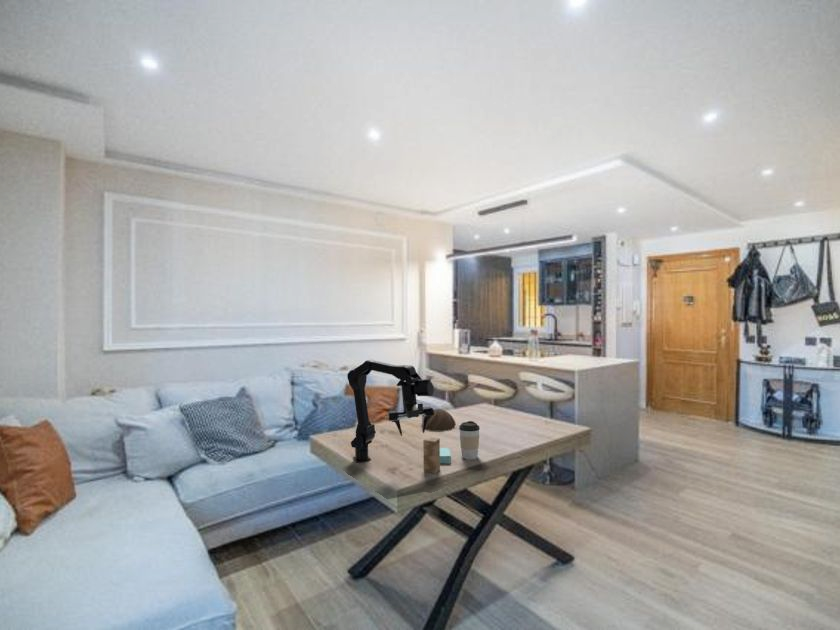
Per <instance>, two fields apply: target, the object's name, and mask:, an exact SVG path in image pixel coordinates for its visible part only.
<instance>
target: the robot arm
mask: <svg viewBox="0 0 840 630" xmlns="http://www.w3.org/2000/svg"><path fill="white" fill-rule="evenodd" d="M372 371H374V372H379V373H381V374H387V375H391V376H393V377H395V378H396V379H398V380H399V381H398V382H397V383H396V387H401V397H402V407H403V409H402V410H403V411H399V412H398V411H397V410H389V411H388V412H387V419H388V421H390V422H392V423H395V425H396V427H397V429H398V430H397V431H398V432H399V435H400V436H401V437H403V433H402V428H401V427H402V426H401V422H400V419H399V418H401V417H407V418H408V419H412V418H418V417H419V416H420V415H421V420H422V421H421V425H422V427H421V428H422V429H421V432H422V434H424V433H425V431H426V429H425V427H426V423H427V420H428V419H429V418H430V417H431V415H434V410H435V409H434V408H433V407H431V406H424V405H423V403H417V397H432V396H433V395H434V391H435V389H434V385H433V383H432V381H431V378H427V379H422V378H421V376H420V375H419V374H418V372H417V370H416V368H415V366H414V365H411V364H410V365H409V364H408V365H407V364H403V365H395V364H391V363H387V362H383V361H377V360H374V359H369V360H365V361H364V362H363V363H361V364H359V366H357V367H355V368H354V369H351V370H349V371H348V373H347V380H348V384H349V386H350V387H351V389H352V391H353V398H354V404H355V413H356V419H357V424H356V428H355V437H354V438H353V439H352V440H351V441H350V446H351V448H354V454H355V455H354V456H352V459H353V460H354V461H355V462H356V463H361V462H367V461H368V462H369V461H371V460H372V459H371V457H370V456H369V445H370V444H371V443H372V441H373V439H375V437H376V433H377V431H376V429H375V423H371V422H370V419H369V412H368V403H367V398H366V389H365V388H366V384H367V376H368V375H369V374H370V373H371V372H372Z"/></svg>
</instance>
